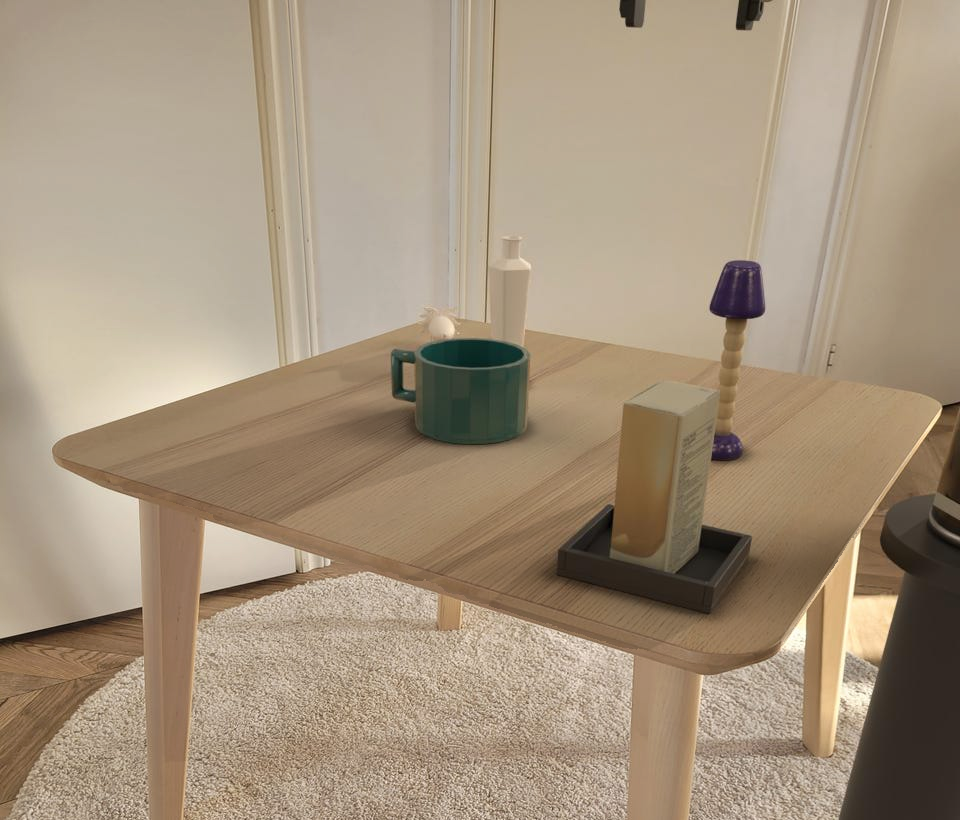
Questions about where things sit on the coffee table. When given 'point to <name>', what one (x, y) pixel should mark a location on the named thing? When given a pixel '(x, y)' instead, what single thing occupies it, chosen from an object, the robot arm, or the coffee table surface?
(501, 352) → the teal coffee mug
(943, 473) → the robot arm
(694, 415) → the cosmetic box
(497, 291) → the white bottle vase
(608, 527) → the tray
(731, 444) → the toy lamp
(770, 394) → the coffee table surface
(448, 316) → the cream spiky figurine
